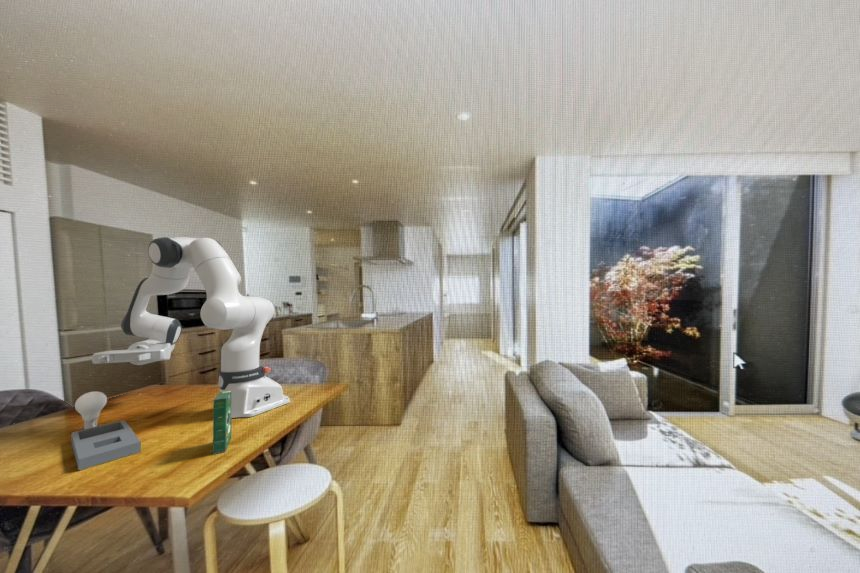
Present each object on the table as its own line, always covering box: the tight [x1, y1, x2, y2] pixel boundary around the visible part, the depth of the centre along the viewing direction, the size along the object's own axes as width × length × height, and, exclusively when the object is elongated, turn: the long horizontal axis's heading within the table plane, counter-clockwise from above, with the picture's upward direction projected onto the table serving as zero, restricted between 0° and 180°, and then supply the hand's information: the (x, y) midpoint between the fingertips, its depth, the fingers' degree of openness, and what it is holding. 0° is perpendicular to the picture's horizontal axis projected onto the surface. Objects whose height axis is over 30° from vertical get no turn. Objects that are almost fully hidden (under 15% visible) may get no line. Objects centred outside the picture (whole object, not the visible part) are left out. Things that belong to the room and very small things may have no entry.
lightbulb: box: [74, 391, 108, 430], centre depth 88 cm, size 6×6×11 cm
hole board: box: [70, 419, 142, 471], centre depth 77 cm, size 10×24×2 cm, turn 53°
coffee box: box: [212, 391, 232, 455], centre depth 76 cm, size 8×3×13 cm, turn 25°
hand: (119, 359), depth 100 cm, fingers open, 8 cm apart
